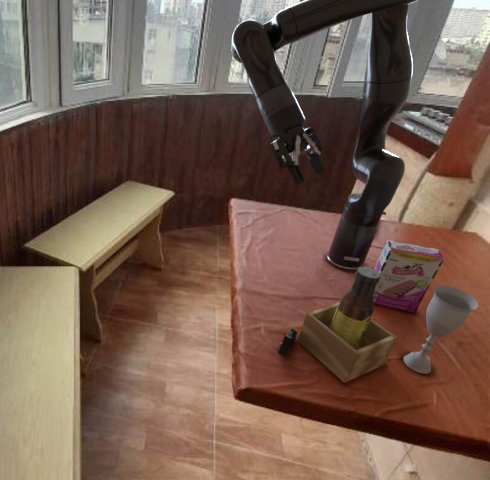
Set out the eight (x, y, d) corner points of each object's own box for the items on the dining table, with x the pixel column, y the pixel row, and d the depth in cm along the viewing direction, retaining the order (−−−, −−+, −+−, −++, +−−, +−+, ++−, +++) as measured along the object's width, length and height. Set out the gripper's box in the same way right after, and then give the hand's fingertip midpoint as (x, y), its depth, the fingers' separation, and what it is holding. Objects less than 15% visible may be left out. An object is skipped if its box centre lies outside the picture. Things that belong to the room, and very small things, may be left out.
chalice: (391, 351, 90) (425, 285, 81) (420, 350, 91) (457, 284, 82) (413, 378, 84) (453, 310, 75) (444, 377, 85) (487, 309, 75)
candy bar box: (366, 303, 104) (389, 248, 96) (363, 292, 108) (385, 238, 100) (416, 314, 101) (445, 259, 93) (411, 302, 105) (438, 248, 97)
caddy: (334, 326, 97) (344, 299, 92) (383, 365, 87) (397, 337, 83) (297, 340, 92) (306, 313, 88) (344, 383, 82) (357, 354, 78)
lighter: (280, 347, 93) (289, 326, 93) (290, 352, 92) (298, 330, 92) (274, 351, 86) (284, 328, 86) (284, 356, 85) (294, 333, 85)
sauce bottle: (358, 362, 86) (394, 286, 76) (326, 357, 87) (357, 281, 77) (350, 340, 91) (382, 266, 81) (320, 335, 92) (348, 261, 82)
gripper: (275, 107, 83) (309, 180, 83) (311, 96, 91) (343, 163, 91) (247, 124, 90) (279, 192, 89) (283, 113, 98) (313, 175, 97)
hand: (311, 177), depth 90 cm, fingers open, 8 cm apart
